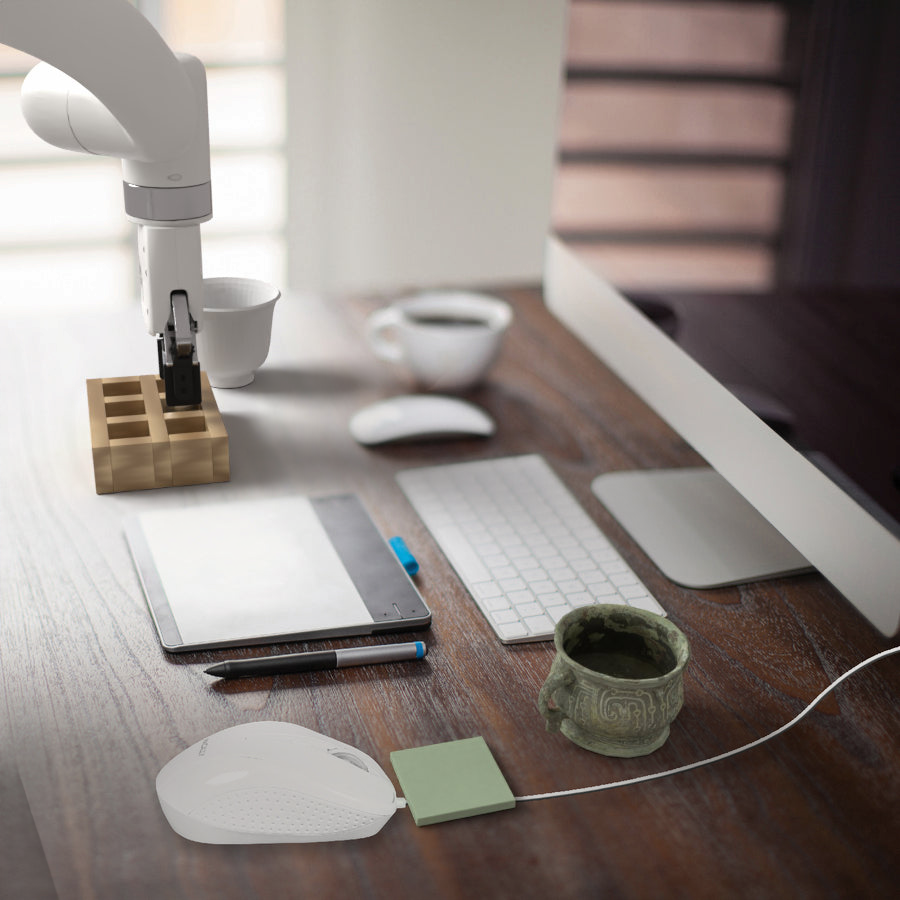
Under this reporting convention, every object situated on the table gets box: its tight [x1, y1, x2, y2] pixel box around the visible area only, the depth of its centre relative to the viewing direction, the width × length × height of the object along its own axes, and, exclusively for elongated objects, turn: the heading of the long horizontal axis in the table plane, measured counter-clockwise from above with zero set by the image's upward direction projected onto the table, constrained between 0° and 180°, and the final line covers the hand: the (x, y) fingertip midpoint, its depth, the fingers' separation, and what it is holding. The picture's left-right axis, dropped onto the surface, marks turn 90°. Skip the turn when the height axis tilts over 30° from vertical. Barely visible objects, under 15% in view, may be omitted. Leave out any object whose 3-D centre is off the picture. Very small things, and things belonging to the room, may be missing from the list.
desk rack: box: [85, 371, 231, 495], centre depth 108 cm, size 12×17×4 cm
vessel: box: [537, 602, 692, 759], centre depth 73 cm, size 12×9×6 cm
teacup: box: [189, 276, 282, 389], centre depth 125 cm, size 12×15×10 cm
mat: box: [389, 735, 517, 827], centre depth 68 cm, size 6×6×1 cm
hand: (180, 389), depth 108 cm, fingers open, 6 cm apart
